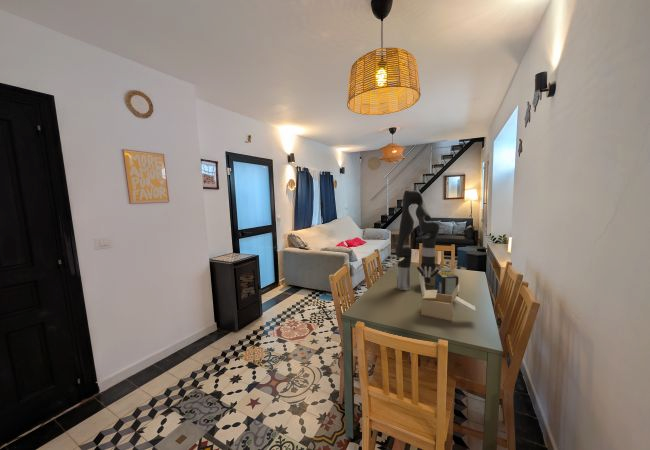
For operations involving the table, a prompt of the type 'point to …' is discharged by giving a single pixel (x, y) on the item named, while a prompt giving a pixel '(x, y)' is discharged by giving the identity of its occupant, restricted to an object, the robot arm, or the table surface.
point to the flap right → (460, 301)
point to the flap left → (426, 293)
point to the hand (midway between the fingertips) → (427, 283)
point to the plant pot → (432, 279)
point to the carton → (438, 307)
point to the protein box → (446, 282)
